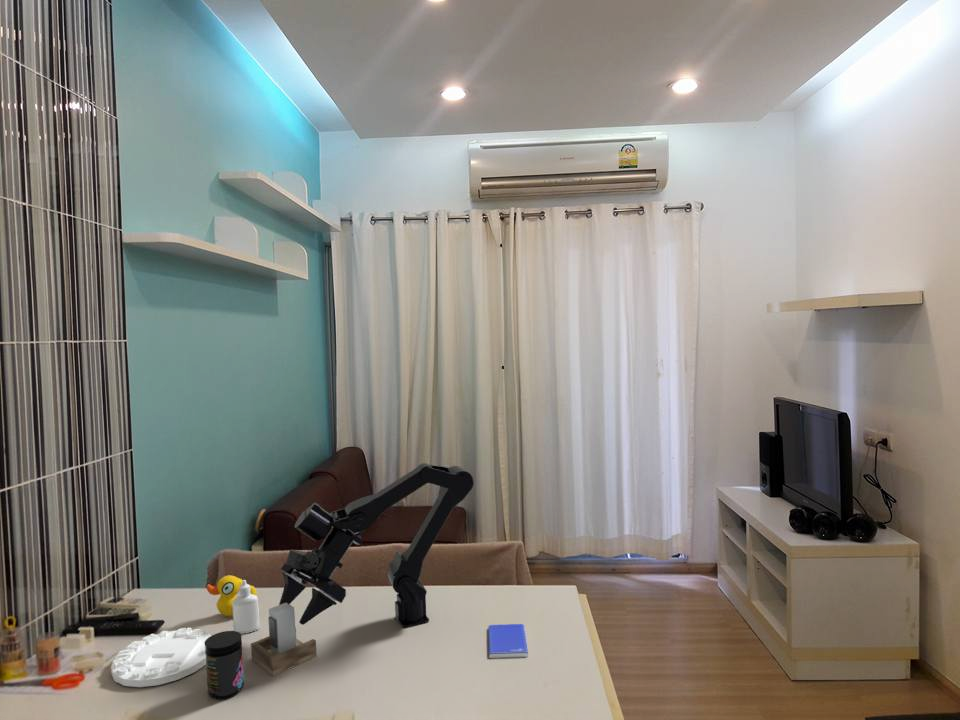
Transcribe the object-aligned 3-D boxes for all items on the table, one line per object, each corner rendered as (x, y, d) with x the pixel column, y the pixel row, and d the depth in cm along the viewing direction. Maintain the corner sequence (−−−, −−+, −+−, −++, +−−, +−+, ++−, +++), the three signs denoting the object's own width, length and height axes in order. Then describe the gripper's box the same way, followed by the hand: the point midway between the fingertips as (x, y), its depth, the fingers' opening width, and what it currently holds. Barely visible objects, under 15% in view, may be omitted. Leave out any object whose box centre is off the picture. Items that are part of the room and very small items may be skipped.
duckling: (208, 625, 150) (206, 584, 150) (208, 615, 155) (206, 576, 155) (258, 614, 155) (256, 575, 154) (256, 605, 160) (254, 567, 159)
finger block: (288, 647, 137) (286, 602, 136) (296, 652, 134) (294, 607, 134) (269, 655, 134) (267, 609, 133) (277, 661, 131) (275, 614, 131)
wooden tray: (294, 641, 141) (293, 626, 141) (316, 656, 134) (315, 640, 134) (251, 659, 134) (250, 643, 134) (273, 676, 127) (272, 659, 127)
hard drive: (528, 651, 132) (523, 623, 144) (489, 652, 132) (488, 624, 144) (528, 658, 132) (523, 630, 144) (489, 660, 132) (488, 631, 144)
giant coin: (162, 699, 122) (161, 684, 121) (89, 680, 128) (88, 667, 128) (235, 647, 140) (234, 634, 140) (168, 633, 147) (167, 621, 147)
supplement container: (231, 702, 119) (228, 649, 118) (199, 699, 120) (196, 647, 119) (251, 682, 125) (248, 631, 125) (220, 679, 127) (217, 629, 126)
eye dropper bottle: (252, 635, 144) (249, 585, 144) (230, 634, 145) (227, 583, 145) (262, 626, 149) (260, 577, 148) (241, 625, 150) (238, 576, 149)
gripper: (286, 525, 144) (243, 588, 137) (331, 543, 131) (285, 614, 124) (318, 549, 150) (278, 610, 143) (364, 568, 137) (322, 637, 130)
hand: (289, 617), depth 135 cm, fingers open, 9 cm apart
